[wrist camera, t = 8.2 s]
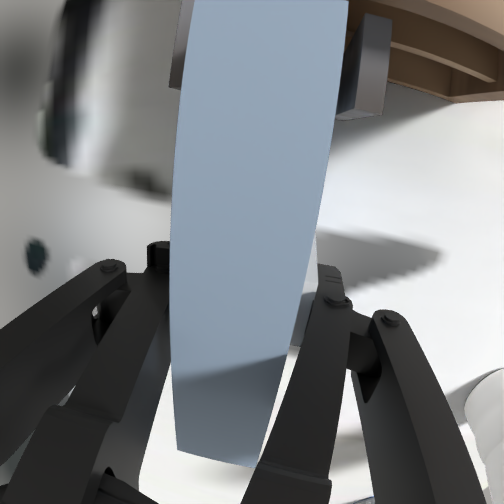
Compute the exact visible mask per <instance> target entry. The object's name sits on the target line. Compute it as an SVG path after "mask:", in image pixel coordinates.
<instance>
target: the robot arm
mask: <svg viewBox="0 0 504 504" xmlns="http://www.w3.org/2000/svg"><path fill="white" fill-rule="evenodd" d="M96 306H97V311H98V314H97V315H95V316H94V317H93V315H92V311H93V309H94V308H95V307H96ZM352 308H353V305H352V301H351V300H350V299H349V298H348V297H346V296H345V293H344V287H343V282H342V277H341V272H340V271H339V270H338V269H337V268H336V267H334V266H329V265H323V264H318V263H317V253H316V235H315V234H314V239H313V244H312V249H311V254H310V259H309V263H308V268H307V273H306V277H305V282H304V286H303V291H302V295H301V300H300V304H299V308H298V313H297V317H296V321H295V325H294V329H293V333H292V338H291V342H290V345H293V346H299V347H301V348H300V351H299V354H298V357H297V360H296V363H295V366H294V369H293V372H292V375H291V378H290V381H289V384H288V387H287V390H286V392H285V395H284V398H283V401H282V404H281V406H280V409H279V412H278V415H277V417H276V420H275V423H274V425H273V428H272V431H271V433H270V436H269V439H268V441H267V444H266V446H265V449H264V451H263V454H262V456H261V459H260V461H259V462H258V464H257V466H256V469H255V471H254V473H253V476H252V478H251V480H250V483H249V485H248V487H247V490H246V492H245V494H244V497H243V499H242V501H241V503H240V504H329V499H330V495H331V488H332V481H331V480H329V479H328V474H329V469H330V464H331V459H332V454H333V449H334V444H335V438H336V433H337V427H338V421H339V415H340V409H341V403H342V396H343V389H344V382H345V375H346V368H347V369H349V370H351V378H352V382H353V387H354V391H355V396H356V401H357V405H358V410H359V415H360V420H361V425H362V430H363V435H364V441H365V446H366V451H367V457H368V463H369V469H370V474H371V481H372V487H373V493H374V500H375V504H486V501H485V497H484V494H483V491H482V488H481V485H480V482H479V480H478V477H477V474H476V471H475V468H474V466H473V463H472V460H471V458H470V455H469V452H468V450H467V447H466V445H465V442H464V440H463V437H462V435H461V432H460V430H459V428H458V425H457V423H456V421H455V418H454V416H453V414H452V411H451V409H450V407H449V405H448V402H447V400H446V398H445V396H444V394H443V391H442V389H441V387H440V385H439V383H438V381H437V379H436V377H435V374H434V372H433V370H432V368H431V366H430V364H429V362H428V360H427V358H426V356H425V354H424V352H423V350H422V348H421V346H420V344H419V343H418V341H417V339H416V337H415V335H414V333H413V331H412V329H411V327H410V326H409V324H408V322H407V320H406V319H405V318H404V317H403V316H401V315H400V314H399V313H397V312H395V311H392V310H378V311H375V312H374V314H373V316H372V318H370V317H367V316H364V315H362V314H359V313H357V312H355V311H354V310H352ZM170 363H171V346H170V241H159V242H154V243H151V244H149V245H148V246H147V268H146V269H145V271H144V273H126V265H125V263H124V262H122V261H119V260H115V259H111V260H110V259H106V260H103V261H100V262H97V263H95V264H94V265H92V266H91V267H89V268H88V269H86V270H85V271H83V272H82V273H80V274H79V275H77V276H76V277H74V278H72V279H71V280H69V281H68V282H67V283H65V284H64V285H62V286H61V287H59V288H58V289H56V290H55V291H53V292H52V293H50V294H49V295H48V296H46V297H45V298H43V299H42V300H40V301H39V302H37V303H36V304H35V305H33V306H32V307H30V308H29V309H28V310H26V311H25V312H24V313H22V314H21V315H19V316H18V317H17V318H15V319H14V320H13V321H11V322H10V323H8V324H7V325H6V326H4V327H3V328H2V329H0V466H1V465H2V464H4V463H5V462H6V461H7V460H8V459H9V458H10V457H11V456H12V455H13V454H14V452H15V451H16V450H17V449H18V448H19V447H20V446H21V445H22V443H23V442H24V441H25V440H26V439H27V438H28V437H29V435H30V434H31V433H32V432H33V431H34V430H35V431H34V433H33V435H32V437H31V439H30V441H29V443H28V445H27V447H26V449H25V451H24V453H23V455H22V457H21V459H20V461H19V463H18V465H17V467H16V470H15V472H14V474H13V476H12V478H11V480H10V482H9V484H5V485H1V486H0V504H158V503H157V502H155V501H153V500H152V499H150V498H149V497H147V496H145V495H144V494H142V493H141V492H139V474H140V469H141V465H142V462H143V458H144V454H145V450H146V447H147V443H148V439H149V436H150V432H151V428H152V425H153V421H154V418H155V414H156V411H157V407H158V404H159V400H160V397H161V393H162V390H163V386H164V383H165V380H166V376H167V373H168V370H169V366H170ZM75 385H76V386H75ZM74 386H75V388H74V389H73V387H74ZM72 389H73V391H72V393H71V395H70V397H69V399H68V401H67V402H66V404H65V405H64V406H58V404H59V403H60V401H61V400H62V399H63V398H64V397H65V396H66V395H67V394H68V393H69V392H70V391H71V390H72Z"/></svg>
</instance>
